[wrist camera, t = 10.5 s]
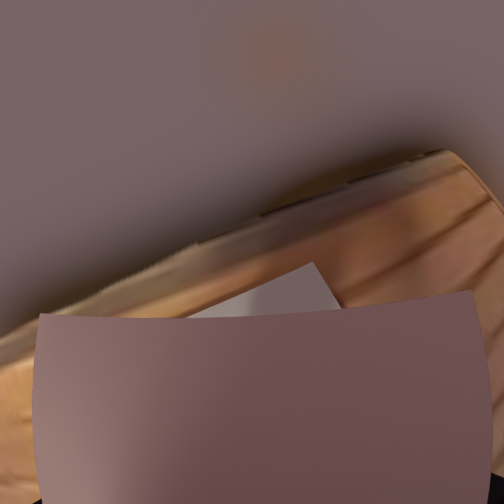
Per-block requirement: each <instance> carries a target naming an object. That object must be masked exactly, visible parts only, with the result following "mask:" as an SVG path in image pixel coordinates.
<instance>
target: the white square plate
mask: <svg viewBox="0 0 504 504" xmlns="http://www.w3.org/2000/svg"><path fill="white" fill-rule="evenodd" d="M334 309H341V307H340V305H339V304H338V302H337V300H336V299H335V297H334V295H333V294H332V292H331V290H330V289H329V287H328V286H327V284H326V282H325V281H324V279H323V277H322V276H321V274H320V273H319V271H318V269H317V268H316V266H315V265H314V263H313V262H310V263H308V264H306V265H304V266H302V267H300V268H298V269H295V270H293V271H291V272H289V273H287V274H284V275H282V276H280V277H278V278H276V279H273V280H271V281H269V282H267V283H265V284H262V285H260V286H258V287H256V288H253V289H251V290H249V291H247V292H244V293H242V294H240V295H237V296H235V297H233V298H231V299H228V300H226V301H224V302H221V303H219V304H217V305H214V306H212V307H210V308H207V309H205V310H203V311H200V312H198V313H196V314H193V315H191V316H188V317H186V318H210V317H238V316H258V315H274V314H288V313H301V312H313V311H324V310H334Z"/></svg>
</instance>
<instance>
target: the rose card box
mask: <svg viewBox="0 0 504 504" xmlns="http://www.w3.org/2000/svg"><path fill="white" fill-rule="evenodd" d="M32 421H33V441H34V453H35V462H36V470H37V477H38V483H39V489H40V494H41V499H42V503H43V504H487V500H488V493H489V486H490V477H491V465H492V444H493V424H492V402H491V390H490V380H489V372H488V365H487V358H486V352H485V347H484V341H483V336H482V331H481V327H480V322H479V318H478V314H477V310H476V306H475V302H474V299H473V295H472V291H471V290H466V291H461V292H455V293H450V294H444V295H438V296H432V297H426V298H420V299H414V300H407V301H400V302H393V303H386V304H378V305H370V306H362V307H353V308H344V309H334V310H324V311H313V312H301V313H288V314H274V315H258V316H238V317H210V318H116V317H90V316H71V315H56V314H43V313H41V314H40V318H39V325H38V332H37V339H36V348H35V357H34V370H33V390H32Z"/></svg>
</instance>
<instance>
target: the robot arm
mask: <svg viewBox="0 0 504 504" xmlns="http://www.w3.org/2000/svg"><path fill="white" fill-rule="evenodd" d="M33 504H43V503H42V499H40V500H38V501H36V502H35V503H33ZM487 504H504V478H503V477H501V476H498V475H496V474H493V473H491V477H490V486H489V493H488V500H487Z"/></svg>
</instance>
